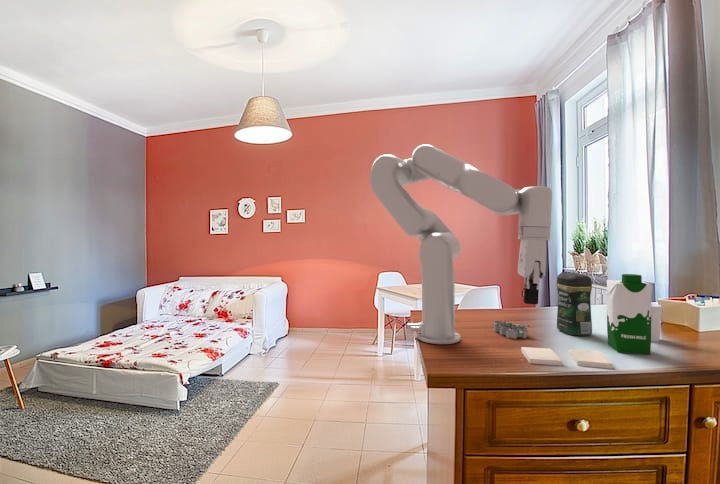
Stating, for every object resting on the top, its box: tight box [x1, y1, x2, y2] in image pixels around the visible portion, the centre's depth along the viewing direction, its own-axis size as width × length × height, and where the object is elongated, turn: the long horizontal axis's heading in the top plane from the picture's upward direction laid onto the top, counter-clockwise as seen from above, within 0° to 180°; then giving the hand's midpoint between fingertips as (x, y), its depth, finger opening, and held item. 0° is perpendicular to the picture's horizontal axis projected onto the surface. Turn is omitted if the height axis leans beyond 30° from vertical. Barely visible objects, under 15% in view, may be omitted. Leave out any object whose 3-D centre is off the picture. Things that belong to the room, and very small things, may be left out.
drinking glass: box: [651, 302, 662, 343], centre depth 101 cm, size 7×7×10 cm
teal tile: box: [520, 346, 563, 366], centre depth 86 cm, size 7×2×9 cm
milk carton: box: [606, 273, 653, 356], centre depth 91 cm, size 9×9×20 cm
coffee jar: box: [556, 272, 593, 337], centre depth 108 cm, size 10×8×19 cm
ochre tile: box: [567, 348, 614, 369], centre depth 84 cm, size 7×2×9 cm
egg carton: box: [492, 319, 530, 340], centre depth 107 cm, size 10×7×4 cm
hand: (530, 303), depth 91 cm, fingers closed
